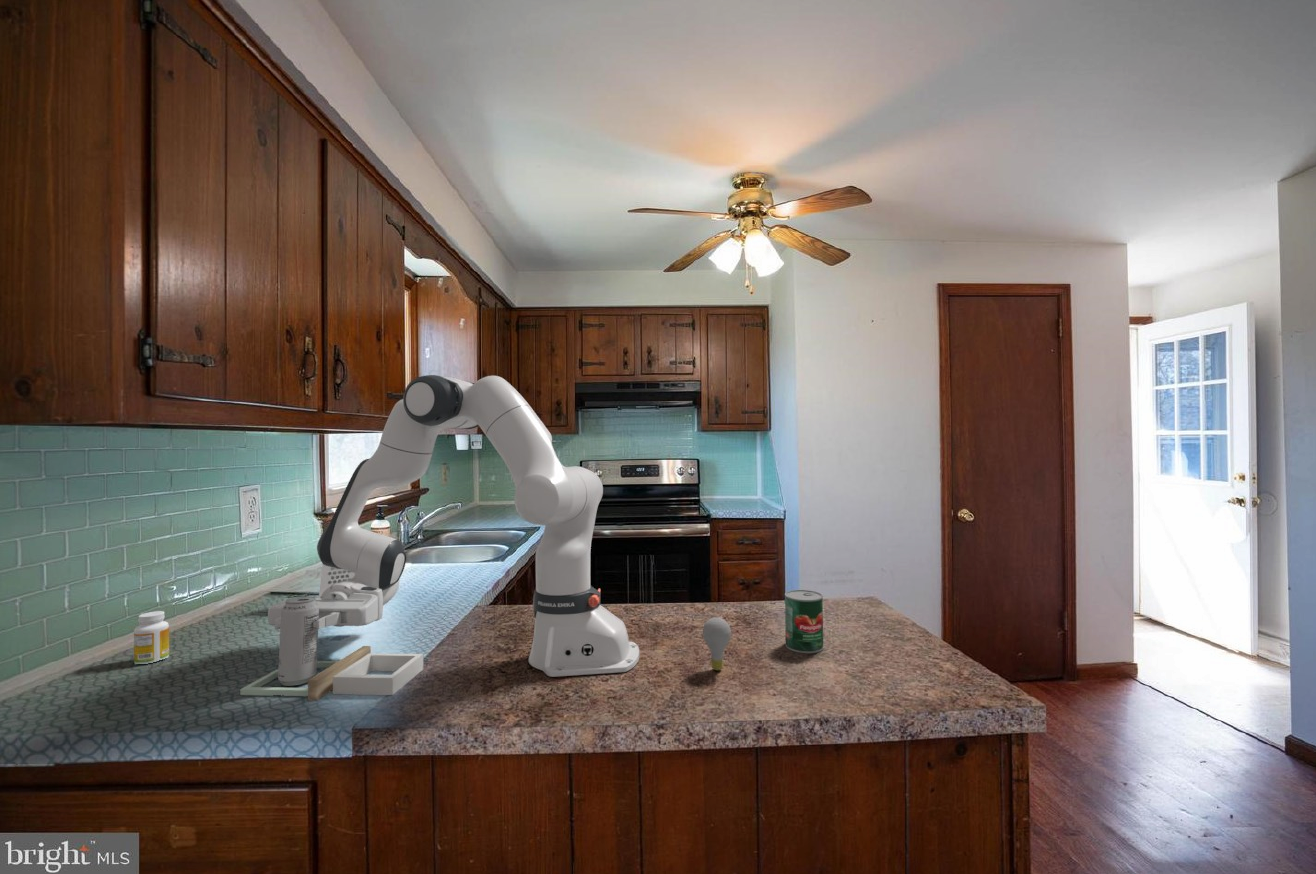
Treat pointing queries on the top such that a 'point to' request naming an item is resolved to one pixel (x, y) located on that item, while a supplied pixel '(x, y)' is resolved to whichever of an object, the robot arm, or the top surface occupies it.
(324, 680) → the rail
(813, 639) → the canned tomato
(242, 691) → the socket
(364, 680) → the socket
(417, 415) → the robot arm
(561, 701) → the top surface
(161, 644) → the supplement bottle
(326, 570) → the grater
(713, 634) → the light bulb
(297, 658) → the energy drink can
